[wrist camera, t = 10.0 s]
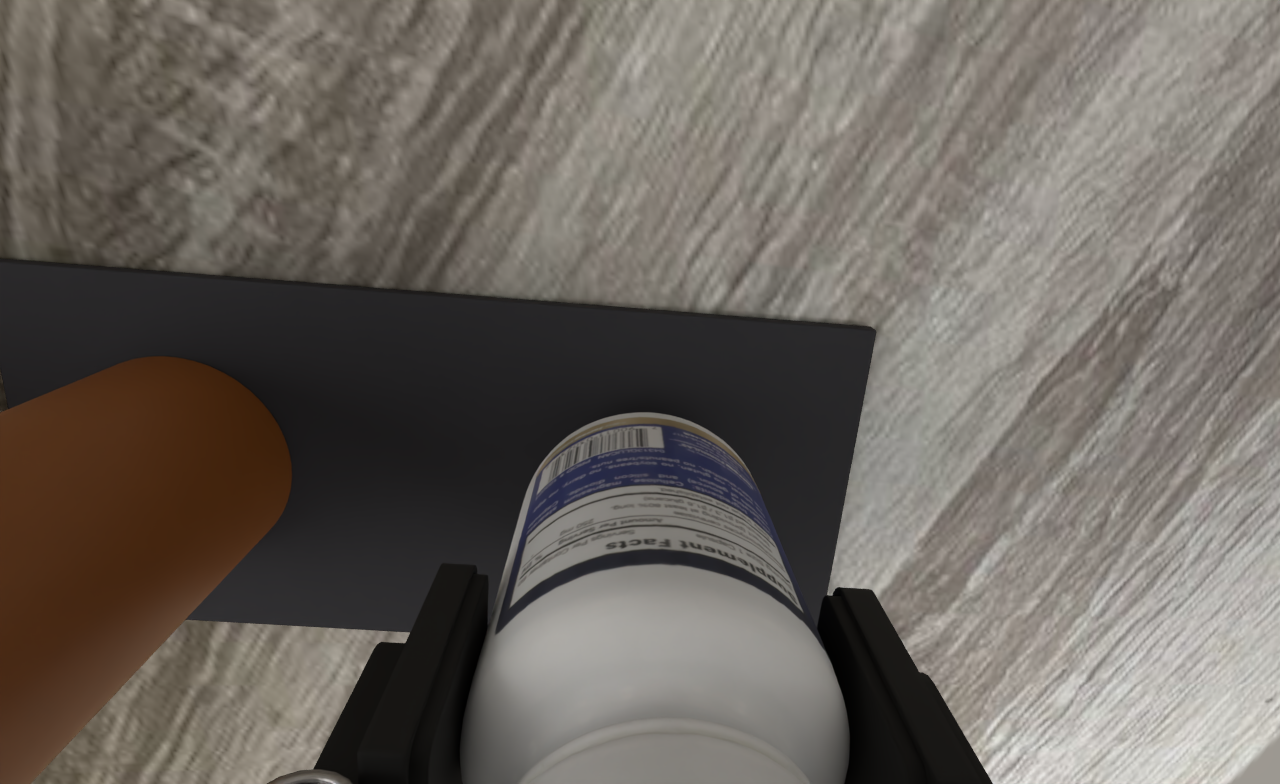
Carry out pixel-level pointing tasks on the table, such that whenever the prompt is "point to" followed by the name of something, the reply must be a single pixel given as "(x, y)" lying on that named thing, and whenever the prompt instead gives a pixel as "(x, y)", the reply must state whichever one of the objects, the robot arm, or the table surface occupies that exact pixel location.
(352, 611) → the plate
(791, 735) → the pill bottle
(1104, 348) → the table surface
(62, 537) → the amber bottle
